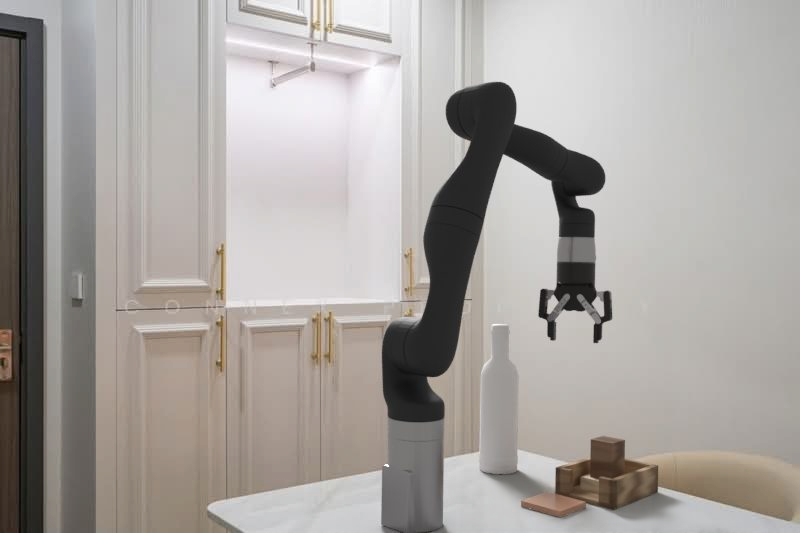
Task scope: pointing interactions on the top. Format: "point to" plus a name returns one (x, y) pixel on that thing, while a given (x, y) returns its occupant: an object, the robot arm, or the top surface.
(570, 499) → the terracotta tile
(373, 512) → the top surface
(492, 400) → the bottle
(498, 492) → the top surface
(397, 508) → the robot arm
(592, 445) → the walnut block
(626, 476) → the oak box
